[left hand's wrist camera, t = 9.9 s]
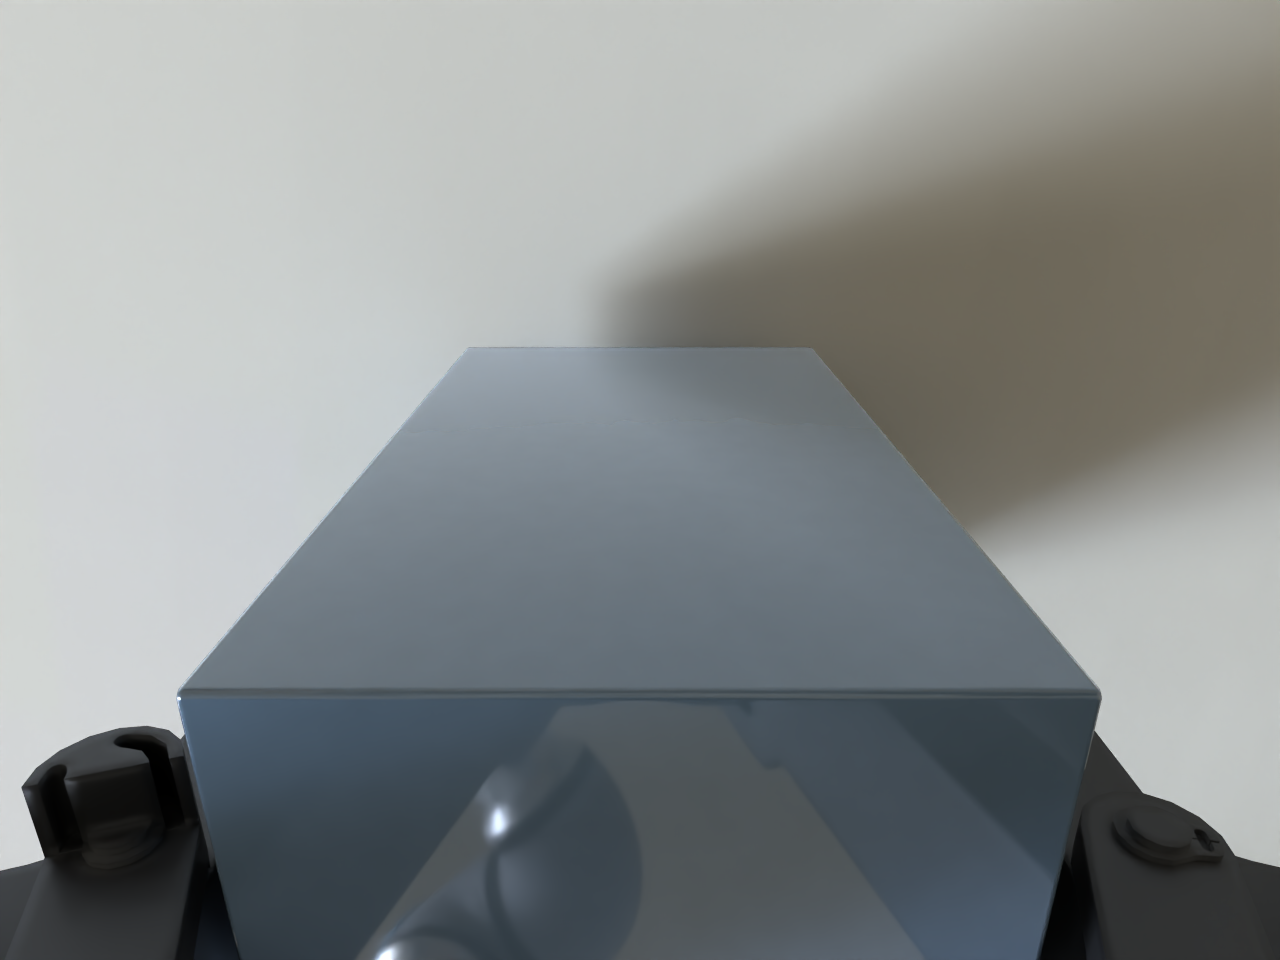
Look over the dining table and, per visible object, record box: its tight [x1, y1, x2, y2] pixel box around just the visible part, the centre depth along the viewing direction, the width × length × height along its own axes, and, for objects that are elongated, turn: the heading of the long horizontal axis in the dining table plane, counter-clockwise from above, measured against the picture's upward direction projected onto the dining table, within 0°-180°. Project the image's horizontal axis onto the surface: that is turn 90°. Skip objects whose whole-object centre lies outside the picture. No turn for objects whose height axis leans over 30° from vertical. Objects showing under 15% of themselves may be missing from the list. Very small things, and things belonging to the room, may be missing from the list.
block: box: [177, 347, 1102, 960], centre depth 12 cm, size 7×6×11 cm
